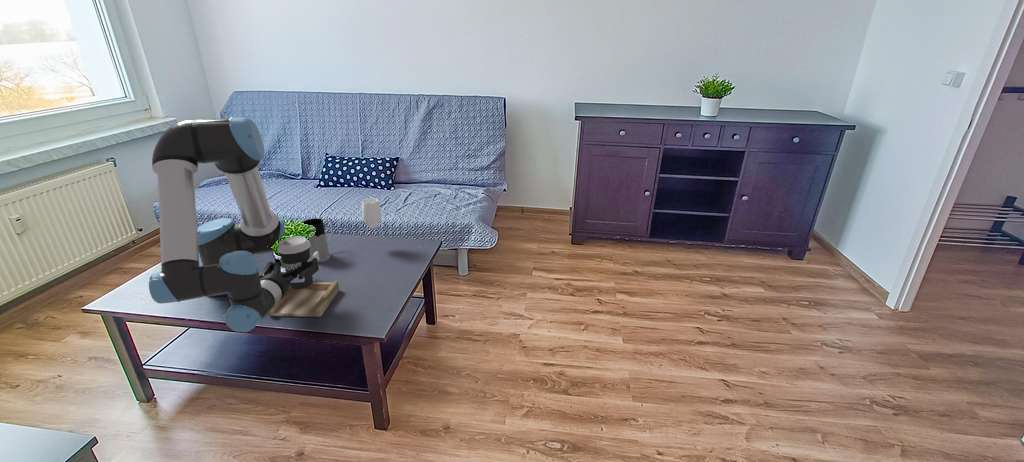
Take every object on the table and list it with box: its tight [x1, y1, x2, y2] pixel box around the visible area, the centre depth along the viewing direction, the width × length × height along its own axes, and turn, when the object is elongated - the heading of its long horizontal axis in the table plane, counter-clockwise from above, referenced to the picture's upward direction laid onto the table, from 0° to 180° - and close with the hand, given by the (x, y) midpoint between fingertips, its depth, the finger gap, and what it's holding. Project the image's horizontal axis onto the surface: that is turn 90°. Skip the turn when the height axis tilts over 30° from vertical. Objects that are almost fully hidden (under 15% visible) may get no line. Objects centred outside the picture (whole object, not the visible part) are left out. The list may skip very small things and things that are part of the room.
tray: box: [268, 280, 340, 318], centre depth 150 cm, size 16×16×4 cm
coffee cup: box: [277, 235, 314, 289], centre depth 144 cm, size 10×10×15 cm
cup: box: [361, 197, 382, 230], centre depth 184 cm, size 7×7×21 cm
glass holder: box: [301, 217, 334, 263], centre depth 180 cm, size 9×14×15 cm, turn 158°
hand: (304, 255), depth 149 cm, fingers closed on coffee cup, 8 cm apart
